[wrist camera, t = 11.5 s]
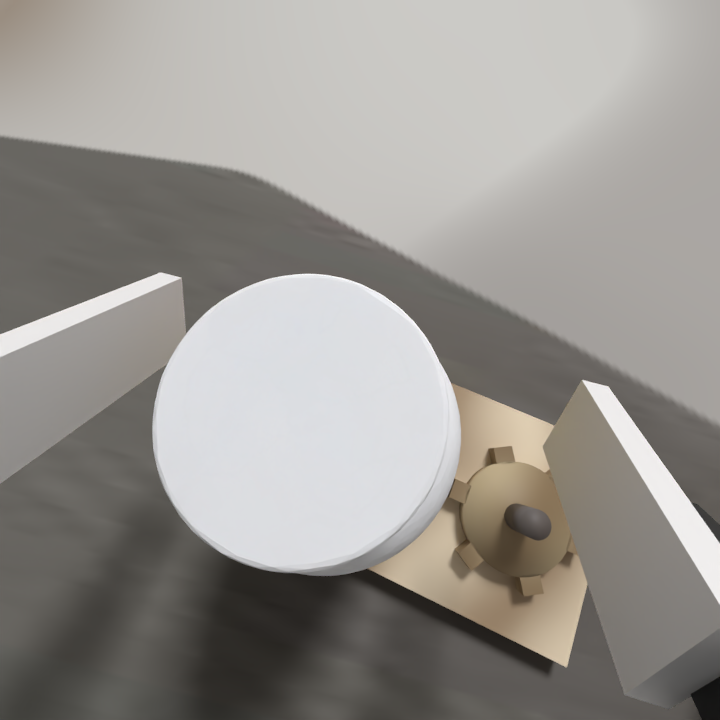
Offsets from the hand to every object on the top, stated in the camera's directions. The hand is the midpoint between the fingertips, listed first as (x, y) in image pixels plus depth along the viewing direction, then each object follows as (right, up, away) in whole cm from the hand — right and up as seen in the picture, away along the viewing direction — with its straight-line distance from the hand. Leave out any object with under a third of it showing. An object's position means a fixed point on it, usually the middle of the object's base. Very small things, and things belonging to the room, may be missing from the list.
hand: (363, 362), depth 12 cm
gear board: (+2, -6, +7) cm, 10 cm away
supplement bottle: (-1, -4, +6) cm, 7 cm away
